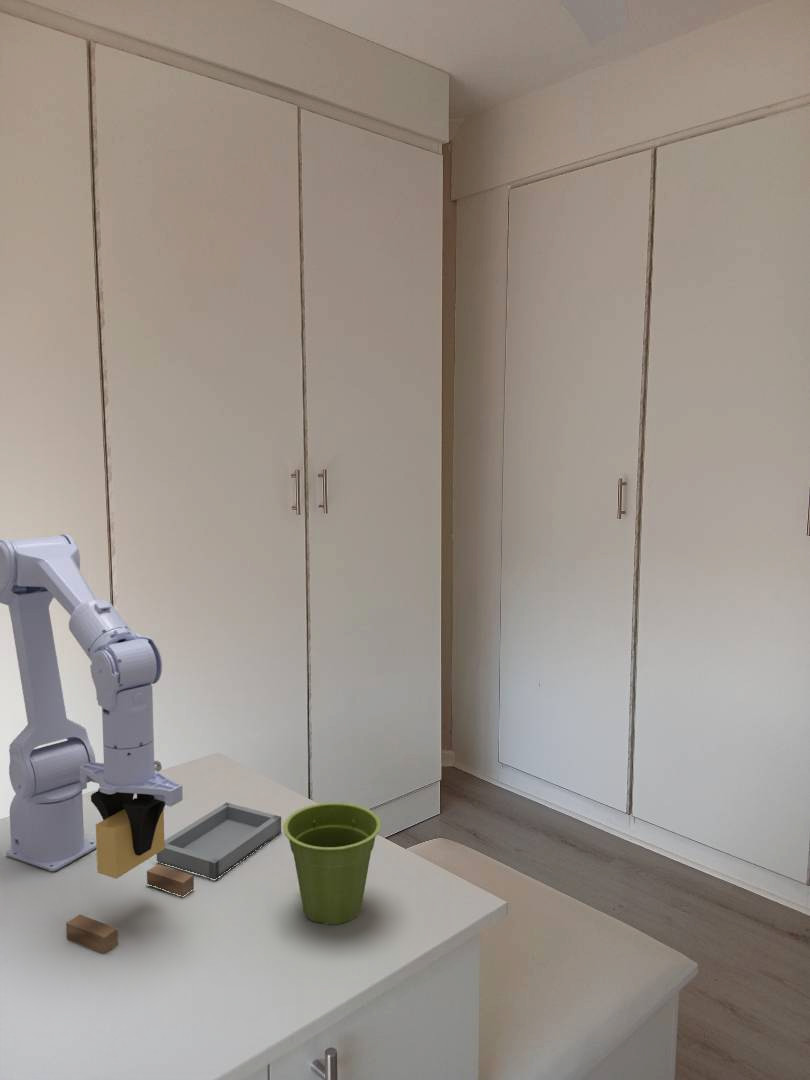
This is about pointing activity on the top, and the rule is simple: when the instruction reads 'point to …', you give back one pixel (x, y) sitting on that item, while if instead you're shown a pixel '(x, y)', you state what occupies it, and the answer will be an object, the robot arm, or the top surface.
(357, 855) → the plant pot
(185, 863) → the tray
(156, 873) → the brown block pair
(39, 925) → the top surface
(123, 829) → the block
